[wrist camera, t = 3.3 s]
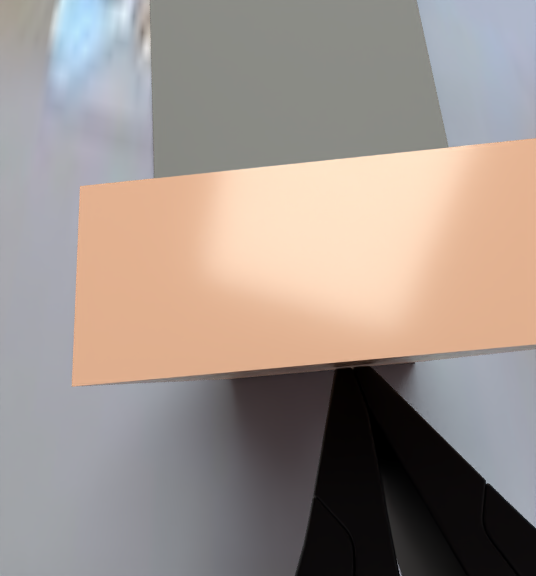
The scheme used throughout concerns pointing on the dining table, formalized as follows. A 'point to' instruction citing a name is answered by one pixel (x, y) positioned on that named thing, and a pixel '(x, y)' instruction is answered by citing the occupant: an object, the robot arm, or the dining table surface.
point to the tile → (307, 266)
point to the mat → (288, 83)
